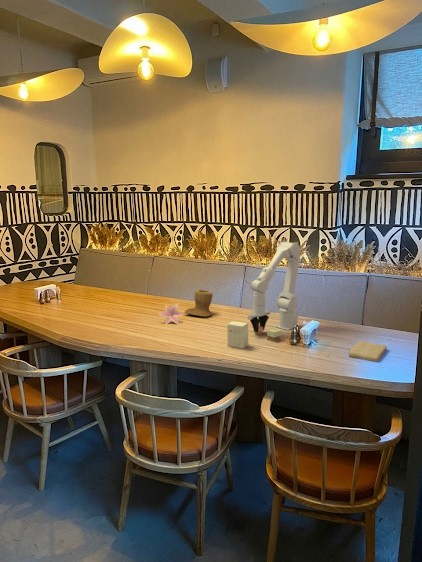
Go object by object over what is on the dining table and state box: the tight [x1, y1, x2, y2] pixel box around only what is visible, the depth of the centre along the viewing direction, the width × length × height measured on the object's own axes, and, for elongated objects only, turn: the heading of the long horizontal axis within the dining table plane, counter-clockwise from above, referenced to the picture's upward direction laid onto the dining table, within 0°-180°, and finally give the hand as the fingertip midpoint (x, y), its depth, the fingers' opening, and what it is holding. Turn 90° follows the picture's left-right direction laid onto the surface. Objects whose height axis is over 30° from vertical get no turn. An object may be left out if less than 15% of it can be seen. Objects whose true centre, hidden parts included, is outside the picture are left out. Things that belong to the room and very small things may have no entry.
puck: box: [254, 325, 264, 336], centre depth 204 cm, size 4×4×4 cm
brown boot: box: [183, 289, 213, 317], centre depth 239 cm, size 15×12×15 cm
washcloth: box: [348, 341, 388, 363], centre depth 176 cm, size 12×18×3 cm, turn 146°
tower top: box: [266, 328, 282, 337], centre depth 194 cm, size 4×4×2 cm
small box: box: [226, 321, 249, 349], centre depth 187 cm, size 8×6×10 cm
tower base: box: [266, 335, 281, 343], centre depth 195 cm, size 4×4×2 cm
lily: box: [158, 302, 184, 325], centre depth 226 cm, size 12×12×10 cm
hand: (259, 330), depth 204 cm, fingers closed on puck, 4 cm apart
